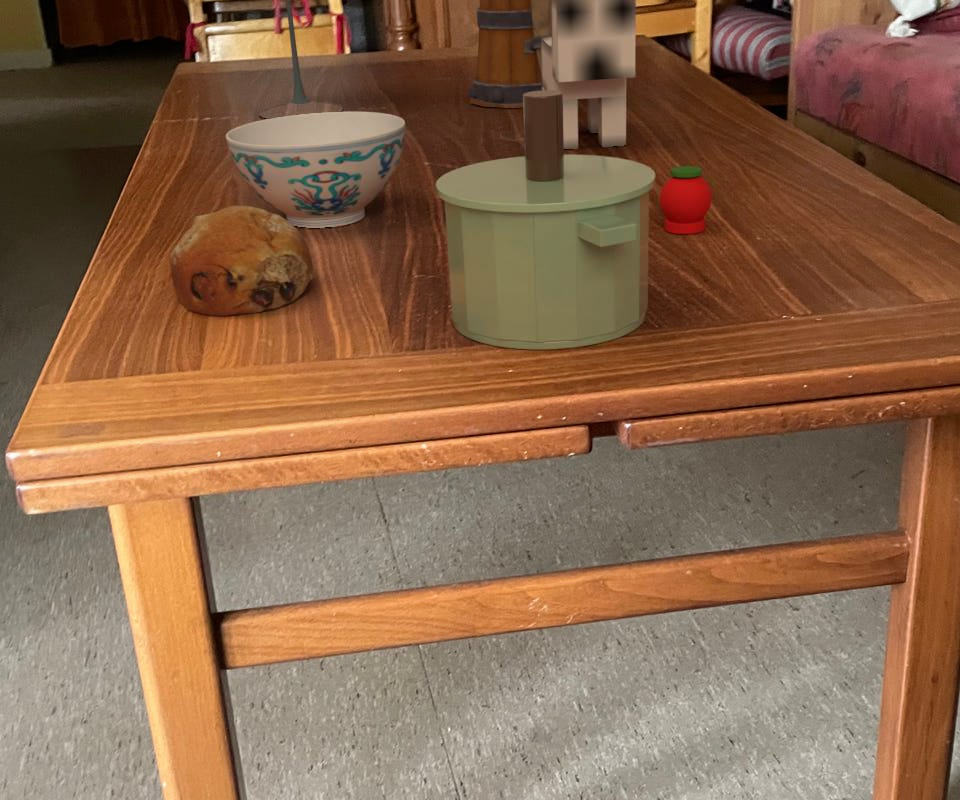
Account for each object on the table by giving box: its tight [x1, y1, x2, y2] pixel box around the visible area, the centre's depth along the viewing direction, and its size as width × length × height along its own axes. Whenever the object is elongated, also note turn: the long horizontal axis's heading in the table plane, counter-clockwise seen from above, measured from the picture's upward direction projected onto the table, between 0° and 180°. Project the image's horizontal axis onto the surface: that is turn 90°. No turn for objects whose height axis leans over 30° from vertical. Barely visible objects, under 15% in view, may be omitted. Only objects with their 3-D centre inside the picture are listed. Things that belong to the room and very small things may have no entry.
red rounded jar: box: [659, 165, 712, 235], centre depth 97 cm, size 4×4×5 cm
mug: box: [468, 0, 552, 105], centre depth 151 cm, size 19×14×20 cm
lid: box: [435, 90, 657, 213], centre depth 75 cm, size 14×14×6 cm
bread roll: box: [168, 205, 314, 317], centre depth 87 cm, size 10×10×8 cm
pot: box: [444, 191, 650, 351], centre depth 78 cm, size 13×18×8 cm
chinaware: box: [225, 111, 406, 229], centre depth 105 cm, size 15×15×8 cm
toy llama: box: [541, 0, 637, 150], centre depth 126 cm, size 8×18×20 cm, turn 4°
